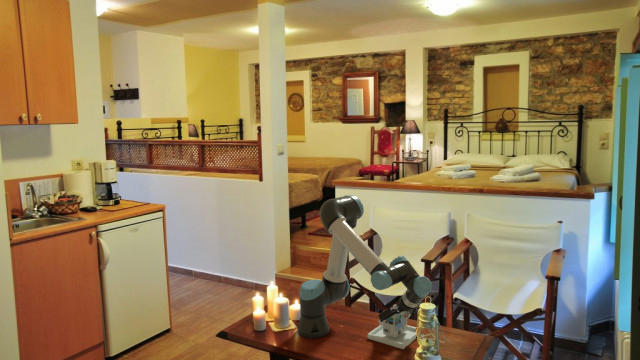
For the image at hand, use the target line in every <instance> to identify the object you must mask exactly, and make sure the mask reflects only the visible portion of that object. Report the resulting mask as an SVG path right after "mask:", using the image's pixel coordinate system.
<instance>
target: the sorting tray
mask: <svg viewBox="0 0 640 360" xmlns="http://www.w3.org/2000/svg"><path fill="white" fill-rule="evenodd" d="M416 328H417V326H412V325H408V324H407V330H406V331H405V332H403V333H402V334H400V335H398V336H397V337H395V338H394V337H391V336H388V335H385V334H383V325H382V326H380V325H378V326H377V327H375V328H374V329H372V330H371V331H370V332H368V333H367V340H368V339H369V340H372V341H375V342H378V343H381V344H385V345H388V346H392V347H394V348H398V349H400V350H404V349H405V348H407V347H408V346H409V345H410V344H412V343H413V342H414V341H415V340H416V339H417V338H416ZM406 346H407V347H406Z"/></svg>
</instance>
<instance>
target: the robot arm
mask: <svg viewBox="0 0 640 360" xmlns="http://www.w3.org/2000/svg"><path fill="white" fill-rule="evenodd" d="M364 208H365V207H364V205H363V203H362V201H361V199H360V198H359V197H358V196H356V195H352V194H350V195H344V196H339V197H335V198H331V199H327V200H326V201H324V202H323V203H322V205H321V206H320V208H319V218H320V221H321V222H320V223H321V225H322V226H323V227H324V229H325V230H326V231H327V232H328V233H329V234H331V235H332V238H331V244H330V249H329V256H328V262H327V268H326V270H325V271H324V272H323V274H322V277H321V278H322V279H318V278H317V279H310V280H306V281H304V282H303V283H302V284H301V285H300V286H299V293H298V294H299V311H300V317H299V320H298V324H297V326H296V327H297V328H296V329H297V332H296V333H297V334H298V335H299V336H300V337H302V338H306V339H318V338H323V337H325V336H327V335H328V334H329V333H330V323H329V322H328V319H327V316H326V307H327V306H330V305H331V304H333V303H336V302H338V301H339V302H340V301H341V300H343V299H345V298H346V297H347V296H348V295H349V292H350V290H351V289H350V288H351V285H350V283H349V282H350V281H349V279H348V277H347V275H346V274H345V272H346V267H347V261H348V256H349V253H350V254H351V255H352V256H353V257H354V259H355V260H356V261H357V262H358V263H359V264H360V265H361V266H362V267H363V269H364V270H365V271H366V272H367V273H368V274H369V275H370V283H371V285H372V287H373V288H374V289H375V290H378V291H383V290H386V289H389V288H391V287H392V286H394V285H398V284H399V283H402V284H403V286H404V287H405V288H406V290H405V291H404V292H403V294H402V295H401V296H400V297H399V299H398V303H397V304H395V305H396V306H394V307H393V305H394V304H391V305H390V306H389V307H387V308H386V309H385V310H383V311H382V312H381V313H379V314H378V320H377V322H378V324H379V326H382V325H383V324H384V323H385V321H386V320H387V319H388V318H389V317H391V316H393V315H395V314H399V313H401V312H404V311H407V320H408V319H409V318H410V317H411V316H412V317H413V316H415V313H418V312H419V307H420V305H421V302H422V301H423V300H424V299H425V298H426V297H427V296H429V294H430V292H431V290H432V288H433V284H432V281H431V280H430V279H429V278H428V277H427V276H425V275H420V274H419V273H418V271H416V268H414V266H413V265H412V264H411V263H410V261H409V260H408V259H407V258H406V257H405V256H404V255H398V256H397V257H395V258H394V259H393V260H392V261H390V263H389V266H387V264H386V263H385V262H384V261H383V260H382V259H381V258H380V257H379V256H378V255H377V253H375V252H374V250H373V249H372V248H371V247H370V246H369V245H368V244H367V243H366V242H365V241H364V240H363V239H362V238H361V236H360V235H359V234H358V233H357V232H356V231H355V228H357V225H358V224H357V223H358V220H359V219H361V218H362V217H363V216H364V212H365V211H364V210H365V209H364ZM397 310H398V311H399V312H398V311H397Z"/></svg>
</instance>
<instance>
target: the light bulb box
mask: <svg viewBox="0 0 640 360" xmlns="http://www.w3.org/2000/svg"><path fill="white" fill-rule="evenodd" d="M392 305H393V307H394V306H396V305H397V304H392ZM397 311H398V310H397ZM398 312H399V311H398ZM407 325H408V319H407V311H404V312H401V313H399V314H395V315H393V316H391V317H389V318H388V319H387V320H386V321H385V323H384V324H383V334H385V335H388V336H391V337H394V338H395V337H397V336H398V335H400V334H402V333H403V332H405V331H406V330H407Z"/></svg>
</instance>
